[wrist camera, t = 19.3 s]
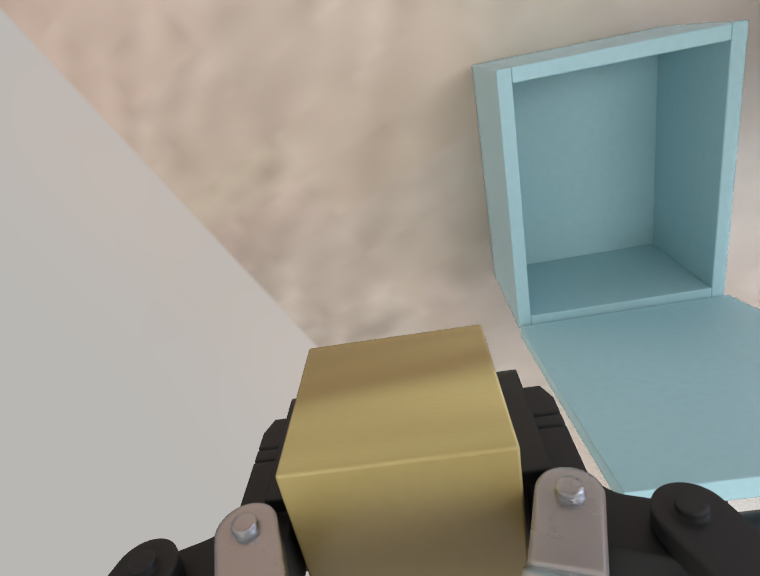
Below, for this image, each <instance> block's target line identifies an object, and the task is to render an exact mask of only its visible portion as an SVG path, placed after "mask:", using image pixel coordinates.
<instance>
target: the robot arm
mask: <svg viewBox="0 0 760 576" xmlns="http://www.w3.org/2000/svg"><path fill="white" fill-rule="evenodd" d="M496 374H497V377H498V380H499V383H500V386H501V390H502V393H503V396H504V399H505V402H506V406H507V409H508V412H509V415H510V418H511V421H512V425H513V428H514V431H515V434H516V437H517V440H518V444H519V447H520V457H521V468H522V480H523V492H524V504H525V516H526V528H527V540H528V549H529V551H528V561H527V566H524V567H523V572H522V576H760V531H759V530H758V529H757V528H756V527H755V526H753V525H752V524H751V523H750V522H749V521H748V520H746V519H745V518H744V517H743V516H742V515H741V514H740V513H738V512H737V511H736V510H735V509H734V508H733V507H732V506H730V505H729V504H728V503H727V502H726V501H725V500H724V499H722V498H721V497H720V496H719V495H717V494H716V493H714V492H712V491H711V490H709V489H707V488H704V487H702V486H699V485H696V484H692V483H685V482H674V483H668V484H665V485H662V486H660V487H659V488H658V489H656V490H655V491H654V493H653V494H652V497H651V498H645V497H638V496H631V495H625V494H621V493H617V492H614V491H612V490H609V489H607V488H605V487H603V486H602V485H601V483H600V482H599V481H598V480H597V479H596V478H595V477H594V476H592V475H591V474H589V473H588V472H587V470H586V469H585V466H584V464H583V462H582V460H581V457H580V455H579V453H578V451H577V449H576V446H575V444H574V442H573V440H572V438H571V435H570V433H569V431H568V429H567V427H566V426H565V422H564V420H563V418H562V416H561V414H560V411H559V409H558V407H557V405H556V402H555V400H554V398H553V397H552V396H551V395H550V394H549V393H547V392H546V391H545V390H544V389H543V388H541V387H540V386H535V387H527V388H523V387H522V384H521V382H520V379H519V377H518V374H517V371H516V370H508V371H500V372H496ZM295 401H296V399H293V400H292V401H291V405H290V408H289V412H288V415H287V419H280V420H275V421H274V422H273V424H272V425H271V426H270V427H269V428H268V430H267V431H266V432H265V433H264V435H263V439H262V441H261V444H260V447H259V452H258V454H257V457H256V460H255V464H254V466H253V469H252V472H251V476H250V479H249V482H248V485H247V488H246V491H245V494H244V497H243V500H242V503H241V506H240V507H239V508H237V509H235V510H234V511H232V512H231V513H229V514H228V515H227V516H226V517H225V518H224V519H223V520H222V522H221V523H220V524H219V526H218V528H217V530H216V533H215V536H214V537H212V538H210V539H208V540H206V541H204V542H201V543H199V544H196V545H193V546H191V547H188V548H186V549H183V550H181V551H178V549H177V548H176V545H175V544H174V543H173V542H172V541H170V540H168V539H153V540H149V541H147V542H144V543H142V544H140V545H138V546H137V547H135V548H134V549H132V550H131V551H129V552H128V553H127V554H126V555H125V556H124V557H123V558H122V559H121V560H120V561H119V563H118V564H117V565H116V566H115V567H114V569H113V570H112V571H111V573H110V574H109V575H108V576H305V575H306V571H308V569H307V567H306V564H305V561H304V558H303V555H302V552H301V549H300V546H299V544H298V541H297V538H296V535H295V532H294V529H293V526H292V523H291V521H290V518H289V515H288V512H287V509H286V506H285V503H284V500H283V498H282V495H281V492H280V489H279V486H278V483H277V480H276V472H277V469H278V465H279V461H280V457H281V454H282V450H283V446H284V442H285V439H286V435H287V431H288V428H289V424H290V420H291V416H292V413H293V409H294V405H295Z"/></svg>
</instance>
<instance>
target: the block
mask: <svg viewBox="0 0 760 576" xmlns="http://www.w3.org/2000/svg"><path fill="white" fill-rule="evenodd" d="M276 480H277V483H278V486H279V489H280V492H281V495H282V498H283V500H284V503H285V506H286V509H287V512H288V515H289V518H290V521H291V523H292V526H293V529H294V532H295V535H296V538H297V541H298V544H299V546H300V549H301V552H302V555H303V558H304V561H305V564H306V567H307V569H308V572H309V575H310V576H522V572H523V567H524V566H527V561H528V540H527V528H526V516H525V504H524V492H523V480H522V468H521V457H520V447H519V444H518V440H517V437H516V434H515V431H514V428H513V425H512V421H511V418H510V415H509V412H508V409H507V406H506V402H505V399H504V396H503V393H502V390H501V386H500V383H499V380H498V377H497V374H496V371H495V367H494V364H493V361H492V358H491V355H490V352H489V348H488V345H487V342H486V339H485V336H484V333H483V329H482V327H481V325H472V326H465V327H458V328H451V329H444V330H437V331H430V332H423V333H416V334H409V335H402V336H395V337H388V338H381V339H374V340H367V341H360V342H353V343H346V344H339V345H332V346H325V347H318V348H312V349H310V350H309V353H308V357H307V360H306V364H305V368H304V371H303V375H302V379H301V383H300V387H299V390H298V394H297V398H296V401H295V405H294V409H293V413H292V416H291V420H290V424H289V428H288V431H287V435H286V439H285V442H284V446H283V450H282V454H281V457H280V461H279V465H278V469H277V472H276Z"/></svg>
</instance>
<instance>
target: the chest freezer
mask: <svg viewBox="0 0 760 576" xmlns="http://www.w3.org/2000/svg"><path fill="white" fill-rule="evenodd" d="M748 24H749V21H748V20H738V21H725V22H712V23H699V24H686V25H673V26H663V27H658V28H653V29H648V30H643V31H638V32H633V33H628V34H623V35H618V36H613V37H609V38H604V39H599V40H594V41H589V42H584V43H579V44H574V45H569V46H564V47H559V48H554V49H549V50H544V51H539V52H534V53H530V54H525V55H520V56H515V57H510V58H505V59H500V60H495V61H490V62H485V63H480V64H475V65H472V69H473V79H474V88H475V97H476V106H477V116H478V125H479V134H480V144H481V153H482V162H483V171H484V181H485V190H486V199H487V208H488V218H489V227H490V236H491V245H492V255H493V264H494V273H495V276H496V278H497V281H498V283H499V285H500V287H501V289H502V292H503V294H504V296H505V298H506V300H507V303H508V305H509V307H510V309H511V311H512V314H513V316H514V318H515V320H516V322H517V324H518V327H519V328H520V327H523V326H529V325H536V324H542V323H549V322H555V321H562V320H568V319H575V318H581V317H588V316H594V315H601V314H607V313H614V312H620V311H627V310H633V309H640V308H646V307H653V306H659V305H666V304H672V303H679V302H685V301H692V300H698V299H705V298H711V297H718V296H724V288H725V277H726V266H727V255H728V244H729V233H730V222H731V211H732V200H733V189H734V178H735V167H736V156H737V145H738V134H739V123H740V112H741V101H742V90H743V79H744V68H745V57H746V46H747V35H748Z"/></svg>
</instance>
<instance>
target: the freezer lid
mask: <svg viewBox="0 0 760 576" xmlns="http://www.w3.org/2000/svg"><path fill="white" fill-rule="evenodd" d="M520 329H521V337H522V339H523V341H524V343H525V344H526V346H527V348H528V349H529V351H530V353H531V354H532V356H533V358H534V360H535V361H536V363H537V365H538V366H539V368H540V370H541V371H542V373H543V375H544V376H545V378H546V380H547V381H548V383H549V385H550V387H551V388H552V390H553V392H554V393H555V395H556V397H557V398H558V400H559V402H560V403H561V405H562V407H563V409H564V410H565V412H566V414H567V415H568V417H569V419H570V420H571V422H572V424H573V425H574V427H575V429H576V430H577V432H578V434H579V436H580V437H581V439H582V441H583V442H584V444H585V446H586V447H587V449H588V451H589V452H590V454H591V456H592V458H593V459H594V461H595V463H596V464H597V466H598V468H599V469H600V471H601V473H602V474H603V476H604V478H605V479H606V481H607V483H608V485H609V486H610V488H611V490H612V491H614V492H617V493H621V494H625V495H631V496H638V497H645V498H651V497H652V494H653V493H654V491H655V490H656V489H658V488H659V487H660V486H662V485H665V484H668V483H674V482H685V483H692V484H696V485H699V486H702V487H704V488H707V489H709V490H711V491H712V492H714V493H716V494H717V495H719V496H720V497H721V498H722V499H724V500H725V501H726V502H727V503H728V500H736V499H745V498H753V497H760V310H759V309H757V308H755V307H753V306H751V305H749V304H747V303H745V302H742V301H740V300H738V299H736V298H734V297H732V296H730V295H724V296H718V297H711V298H705V299H698V300H692V301H685V302H679V303H672V304H666V305H659V306H653V307H646V308H640V309H633V310H627V311H620V312H614V313H607V314H601V315H594V316H588V317H581V318H575V319H568V320H562V321H555V322H549V323H542V324H536V325H529V326H523V327H520ZM738 513H740V514H741V515H742V516H743V517H744V518H745V519H746V520H748V521H749V522H750V523H751V524H752V525H753V526H755V527H756V528H757V529H758V530H759V531H760V510H752V511H743V512H738Z"/></svg>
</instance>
